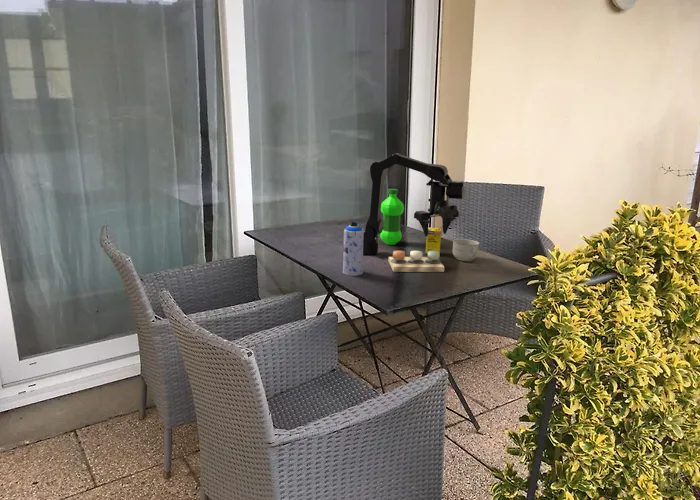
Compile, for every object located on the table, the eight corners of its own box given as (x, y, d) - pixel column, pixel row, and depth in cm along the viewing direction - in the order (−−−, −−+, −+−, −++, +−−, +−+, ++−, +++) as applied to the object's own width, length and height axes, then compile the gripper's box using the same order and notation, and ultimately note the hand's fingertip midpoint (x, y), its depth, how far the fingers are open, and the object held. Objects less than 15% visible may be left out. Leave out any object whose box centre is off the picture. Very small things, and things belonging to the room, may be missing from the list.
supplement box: (439, 256, 257) (441, 231, 254) (425, 255, 258) (426, 230, 255) (440, 252, 262) (441, 228, 260) (426, 251, 264) (427, 227, 261)
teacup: (449, 255, 258) (450, 237, 256) (473, 255, 259) (475, 237, 257) (457, 265, 244) (458, 246, 242) (483, 265, 245) (485, 246, 243)
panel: (393, 271, 234) (393, 266, 233) (388, 261, 247) (388, 256, 246) (444, 271, 235) (444, 266, 235) (436, 261, 249) (437, 256, 248)
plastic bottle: (376, 244, 272) (378, 190, 266) (384, 239, 282) (386, 186, 275) (397, 247, 269) (400, 192, 262) (404, 242, 278) (407, 188, 272)
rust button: (393, 259, 237) (393, 253, 236) (391, 256, 242) (392, 250, 241) (405, 259, 237) (406, 253, 237) (403, 256, 242) (404, 250, 241)
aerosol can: (339, 270, 233) (340, 220, 228) (358, 268, 236) (359, 219, 231) (346, 276, 226) (348, 224, 221) (365, 274, 229) (367, 223, 224)
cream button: (411, 259, 238) (411, 253, 237) (409, 256, 242) (409, 250, 242) (423, 259, 238) (423, 253, 237) (420, 256, 243) (421, 250, 242)
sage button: (428, 259, 238) (429, 253, 238) (426, 256, 243) (426, 250, 242) (440, 259, 239) (440, 253, 238) (437, 256, 243) (438, 250, 243)
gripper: (430, 202, 230) (428, 241, 234) (469, 198, 238) (466, 237, 242) (414, 197, 239) (412, 235, 243) (451, 194, 248) (448, 231, 252)
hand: (435, 234), depth 245 cm, fingers open, 9 cm apart
